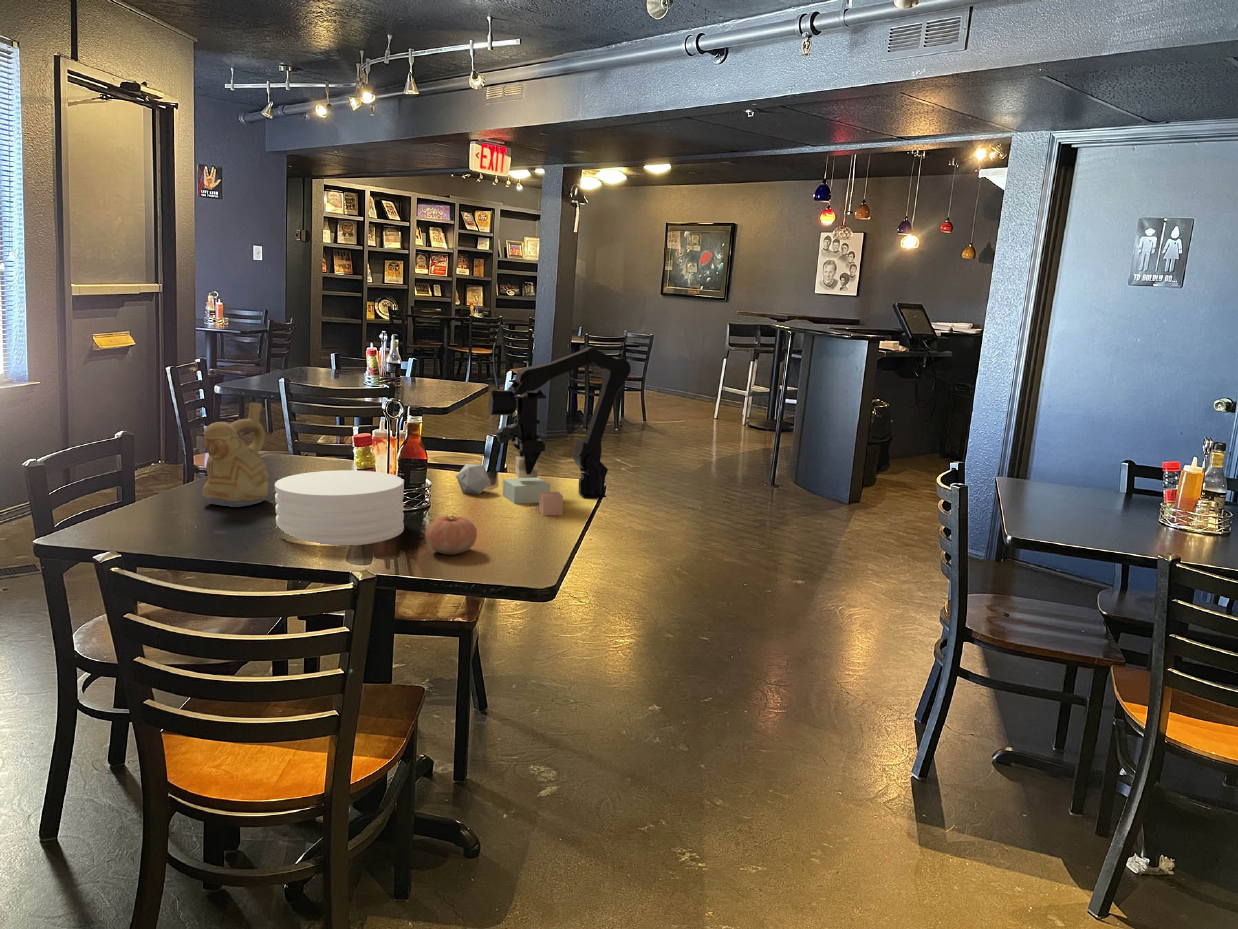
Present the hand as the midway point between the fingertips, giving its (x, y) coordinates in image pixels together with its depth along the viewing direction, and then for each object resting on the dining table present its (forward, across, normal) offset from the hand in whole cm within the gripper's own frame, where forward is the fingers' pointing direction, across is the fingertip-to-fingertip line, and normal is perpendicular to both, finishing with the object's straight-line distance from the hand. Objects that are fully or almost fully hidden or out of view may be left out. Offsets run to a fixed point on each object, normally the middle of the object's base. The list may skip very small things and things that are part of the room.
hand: (526, 472), depth 248 cm
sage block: (+8, 0, 0) cm, 8 cm away
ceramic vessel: (+7, -5, -73) cm, 73 cm away
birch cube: (+1, 0, 0) cm, 1 cm away
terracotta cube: (+7, +17, +3) cm, 19 cm away
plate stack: (+8, +26, -48) cm, 56 cm away
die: (+8, -10, -13) cm, 18 cm away
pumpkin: (+8, +49, -26) cm, 56 cm away
